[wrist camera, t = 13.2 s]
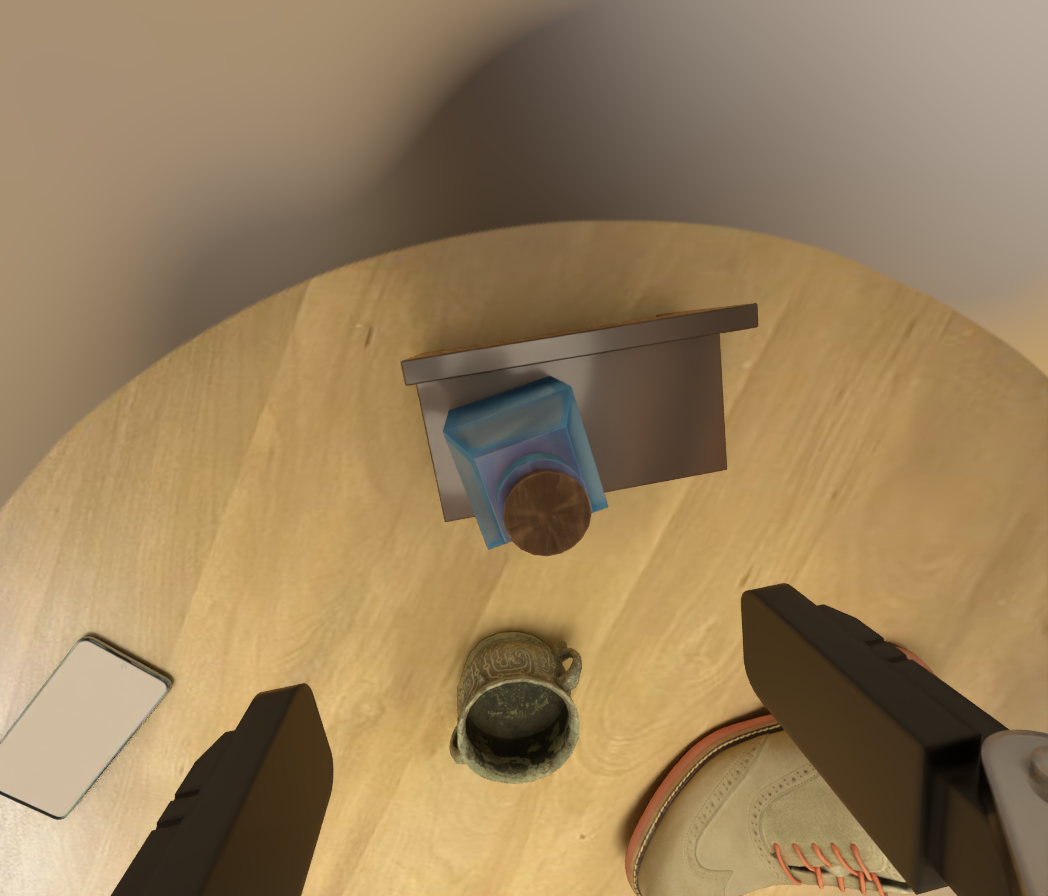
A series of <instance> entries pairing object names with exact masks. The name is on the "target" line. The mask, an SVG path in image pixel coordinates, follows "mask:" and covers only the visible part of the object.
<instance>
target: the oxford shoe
mask: <svg viewBox="0 0 1048 896" xmlns="http://www.w3.org/2000/svg"><path fill="white" fill-rule="evenodd" d="M897 648H898V649H899V650H901V651H902V652H903V653H905V654H906V656H907V658H908V659H909V660H910V659H913V660H914V661H916V662H917V663H919V664H920V665H921V666H923V667H924V668H925V669H927V670H928V671H930V672H931V673H932V674H934V673H933V672H932V671H931V670H930V668H929V667H928V666H927V665H926V664H925V663H924V662H923V661H922V660H920V659H919V658H918V657H917V656H916V655H914V654H913V653H911V652H909V651H907V650H905V649H903V648H900V647H897ZM934 675H935V674H934ZM935 676H936V675H935ZM936 677H937V676H936ZM625 869H626V875H627V879H628V882H629V884H630V886H631V888H632V889H633V891H634V893H635V894H636V895H637V896H743V895H744V894H747V893H750V892H752V891H755V890H758V889H762V888H766V887H769V886H773V885H802V884H807V885H818V886H819V888H821V889H823V888H824V886H835V887H839V889H840V890H841V891H842V892H845V888H850V889H857V890H860V891H861V893H862V894H863V895H866V890H871V891H878V892H879V894H880V896H888V893H887V892H890V893H899V894H909V893H912V892H914V891H913V890H912V889H911V887H910V886H909V885H908V884H907V882H906V881H905V880H904V879H903V878H902V876H901V875H900V874H899V873H898V871H897V870H896V869H895V868H894V866H893V865H892V864H891V863H890V861H889V860H888V859H887V858H886V856H885V855H884V854H883V853H882V851H881V850H880V849H879V848H878V846H877V845H876V844H875V843H874V841H873V840H872V839H871V838H870V836H869V835H868V834H867V833H866V831H865V830H864V829H863V828H862V826H861V825H860V824H859V823H858V821H857V820H856V819H855V818H854V816H853V815H852V814H851V813H850V811H849V810H848V809H847V808H846V806H845V805H844V804H843V803H842V801H841V800H840V799H839V798H838V797H837V795H836V794H835V793H834V792H833V790H832V789H831V788H830V787H829V785H828V784H827V783H826V782H825V780H824V779H823V778H822V777H821V775H820V774H819V773H818V772H817V770H816V769H815V768H814V767H813V765H812V764H811V763H810V762H809V760H808V759H807V758H806V757H805V755H804V754H803V753H802V752H801V750H800V749H799V748H798V747H797V745H796V744H795V743H794V742H793V740H792V739H791V738H790V737H789V735H788V734H787V733H786V732H785V730H784V729H783V728H782V727H781V725H780V724H779V723H778V722H777V720H776V719H775V718H774V717H773V715H772V714H770V715H766V716H762V717H758V718H754V719H751V720H747V721H744V722H740V723H736V724H733V725H730V726H727V727H724V728H722V729H720V730H717V731H715V732H713V733H712V734H710V735H708V736H707V737H705V738H704V739H702V740H701V741H699V742H698V743H697V744H696V745H695V746H694V747H692V748H691V749H690V750H689V751H688V752H687V753H686V754H685V755H684V756H683V757H682V758H681V759H680V761H679V762H678V763H677V764H676V765H675V766H674V767H673V769H672V770H671V771H670V773H669V774H668V776H667V777H666V778H665V780H664V781H663V782H662V784H661V785H660V787H659V788H658V789H657V791H656V792H655V794H654V795H653V797H652V799H651V800H650V802H649V804H648V806H647V807H646V809H645V811H644V813H643V815H642V817H641V819H640V820H639V822H638V824H637V826H636V828H635V830H634V832H633V835H632V837H631V840H630V842H629V845H628V849H627V853H626V859H625Z"/></svg>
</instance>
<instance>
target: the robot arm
mask: <svg viewBox="0 0 1048 896" xmlns="http://www.w3.org/2000/svg"><path fill="white" fill-rule="evenodd" d="M741 613H742V632H743V652H744V664H745V669H746V673H747V676H748V679H749V681H750V684H751V686H752V688H753V690H754V692H755V693H756V695H757V696H758V698H759V699H760V701H761V702H762V703H763V704H764V706H765V707H766V708H767V709H768V711H769V712H770V713H771V714H772V715H773V717H774V718H775V719H776V720H777V722H778V723H779V724H780V725H781V727H782V728H783V729H784V730H785V732H786V733H787V734H788V735H789V737H790V738H791V739H792V740H793V742H794V743H795V744H796V745H797V747H798V748H799V749H800V750H801V752H802V753H803V754H804V755H805V757H806V758H807V759H808V760H809V762H810V763H811V764H812V765H813V767H814V768H815V769H816V770H817V772H818V773H819V774H820V775H821V777H822V778H823V779H824V780H825V782H826V783H827V784H828V785H829V787H830V788H831V789H832V790H833V792H834V793H835V794H836V795H837V797H838V798H839V799H840V800H841V801H842V803H843V804H844V805H845V806H846V808H847V809H848V810H849V811H850V813H851V814H852V815H853V816H854V818H855V819H856V820H857V821H858V823H859V824H860V825H861V826H862V828H863V829H864V830H865V831H866V833H867V834H868V835H869V836H870V838H871V839H872V840H873V841H874V843H875V844H876V845H877V846H878V848H879V849H880V850H881V851H882V853H883V854H884V855H885V856H886V858H887V859H888V860H889V861H890V863H891V864H892V865H893V866H894V868H895V869H896V870H897V871H898V873H899V874H900V875H901V876H902V878H903V879H904V880H905V881H906V882H907V884H908V885H909V886H910V887H911V889H912V890H913V891H914V892H915V894H916V895H917V894H921V893H925V892H928V891H932V890H936V889H939V888H943V887H947V886H949V887H950V888H951V889H952V890H953V891H954V892H955V893H956V895H957V896H1048V734H1046V733H1042V732H1036V731H1030V730H1009V729H1008V728H1006V727H1005V726H1004V725H1002V724H1001V723H1000V722H998V721H997V720H995V719H994V718H993V717H991V716H990V715H989V714H987V713H986V712H984V711H983V710H982V709H980V708H979V707H978V706H976V705H975V704H973V703H972V702H971V701H969V700H968V699H967V698H965V697H964V696H962V695H961V694H960V693H958V692H957V691H956V690H954V689H953V688H951V687H950V686H949V685H947V684H946V683H945V682H943V681H942V680H941V679H939V678H938V677H936V676H935V675H934V674H932V673H931V672H930V671H928V670H927V669H925V668H924V667H923V666H921V665H920V664H919V663H917V662H916V661H914V660H913V659H910V660H909V659H908V658H907V656H906V654H905V653H903V652H902V651H901V650H899V649H898V648H897V647H895V646H894V645H892V644H891V643H890V642H885V641H884V639H883V637H881V636H880V635H879V634H877V633H876V632H875V631H873V630H872V629H871V628H869V627H868V626H866V625H865V624H864V623H862V622H861V621H860V620H858V619H857V618H855V617H852V616H850V615H848V614H845V613H843V612H841V611H838V610H836V609H833V608H831V607H829V606H826V605H824V604H823V605H818V606H817V605H815V604H814V603H813V602H811V601H810V600H809V599H807V598H806V597H805V596H804V595H802V594H801V593H800V592H798V591H797V590H796V589H795V588H793V587H792V586H790V585H789V584H786V583H782V584H777V585H772V586H767V587H763V588H758V589H753V590H748V591H745V592H744V593H743V594H742V597H741ZM332 785H333V759H332V753H331V750H330V746H329V743H328V740H327V737H326V734H325V731H324V727H323V724H322V721H321V718H320V715H319V711H318V708H317V705H316V702H315V699H314V696H313V693H312V690H311V688H310V687H309V686H308V685H307V684H305V683H303V684H298V685H293V686H289V687H284V688H279V689H274V690H270V691H265V692H260V693H259V694H257V695H256V696H255V697H254V699H253V700H252V702H251V704H250V706H249V707H248V709H247V711H246V712H245V714H244V716H243V718H242V719H241V721H240V723H239V724H238V726H237V728H236V730H234V731H229V732H225V733H224V734H223V735H222V736H221V737H220V738H219V739H218V740H217V741H216V742H215V743H214V744H213V745H212V746H211V747H210V748H209V749H208V750H207V751H206V752H205V753H204V754H203V755H202V756H201V757H200V758H199V759H198V760H197V761H196V762H195V763H194V765H193V767H192V768H191V770H190V771H189V773H188V774H187V776H186V778H185V779H184V781H183V782H182V784H181V786H180V787H179V789H178V790H177V792H176V793H175V799H174V801H170V803H169V804H168V806H167V808H166V809H165V811H164V812H163V814H162V816H161V817H160V819H159V820H158V822H157V828H156V830H153V831H151V833H150V834H149V836H148V838H147V839H146V841H145V842H144V844H143V846H142V847H141V849H140V850H139V852H138V853H137V855H136V857H135V858H134V860H133V861H132V863H131V864H130V866H129V868H128V869H127V871H126V872H125V874H124V876H123V877H122V879H121V880H120V882H119V883H118V885H117V887H116V888H115V890H114V891H113V893H112V894H111V896H301V894H302V891H303V888H304V884H305V881H306V877H307V874H308V871H309V867H310V864H311V860H312V857H313V854H314V850H315V847H316V843H317V840H318V837H319V833H320V830H321V826H322V823H323V820H324V816H325V813H326V809H327V806H328V803H329V799H330V796H331V791H332Z"/></svg>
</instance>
